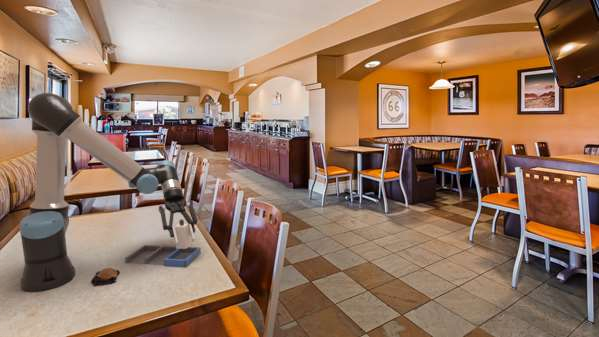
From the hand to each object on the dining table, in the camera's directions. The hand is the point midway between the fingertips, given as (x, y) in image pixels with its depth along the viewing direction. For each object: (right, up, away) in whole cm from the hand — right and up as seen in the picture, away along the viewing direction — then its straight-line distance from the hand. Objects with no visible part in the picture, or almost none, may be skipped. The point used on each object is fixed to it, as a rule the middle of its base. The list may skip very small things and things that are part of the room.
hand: (185, 242), depth 128 cm
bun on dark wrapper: (-24, -11, -11) cm, 29 cm away
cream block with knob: (-2, -3, +4) cm, 5 cm away
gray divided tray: (-10, -8, +5) cm, 14 cm away
